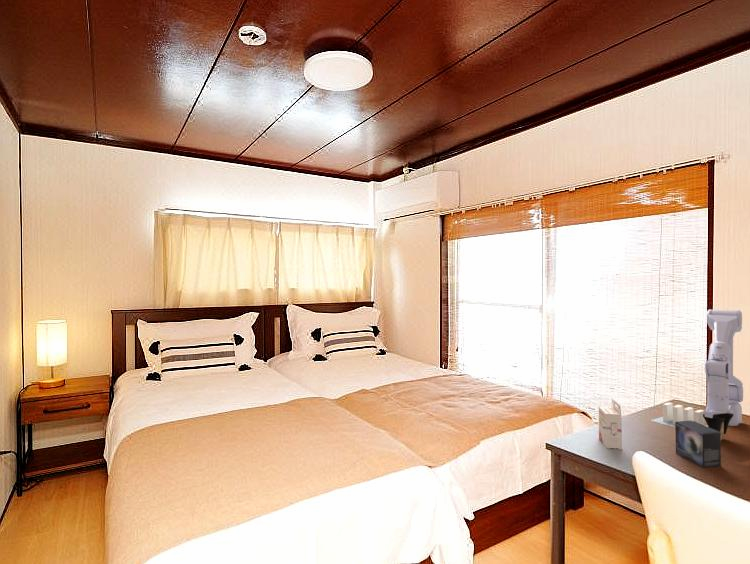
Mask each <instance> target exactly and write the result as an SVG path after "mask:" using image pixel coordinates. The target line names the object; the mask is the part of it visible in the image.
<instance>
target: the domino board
mask: <svg viewBox="0 0 750 564" xmlns="http://www.w3.org/2000/svg"><path fill="white" fill-rule="evenodd" d="M649 421H650V422H653V423H657V424H661V425H664V426H668V427H671V428H675V424H673V420H671V421H669V422H665V421H663V415H662V416H660V417H657V418H654V419H651V420H649ZM705 426H707V427H708V425H706V424H705Z"/></svg>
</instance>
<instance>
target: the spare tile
mask: <svg viewBox="0 0 750 564" xmlns="http://www.w3.org/2000/svg"><path fill="white" fill-rule="evenodd" d="M720 432H721V441H722V440H725V438H724V437H725V436H724V435H725V434H724V422H723V423H722V425H721V430H720Z"/></svg>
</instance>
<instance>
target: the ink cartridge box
mask: <svg viewBox="0 0 750 564" xmlns="http://www.w3.org/2000/svg"><path fill="white" fill-rule="evenodd" d="M611 403H612V406H600V405H599V406H598V439H599V441H600V440H601V441H600V442H601V443H602V445H603V446H604V445H605V446H606V447H605V446H604V447H605V449H610V448H619V449H618V450H622V449H623V440H622V439H623V438H622V437H623V436H622V435H623V434H622V433H623V432H622V431H623V430H622V429H623V428H622V427H623V426H622V422H623V421H622V410H621V404H619V403H618V401H616V400H615V399H614V398H611Z"/></svg>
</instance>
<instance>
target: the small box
mask: <svg viewBox="0 0 750 564" xmlns="http://www.w3.org/2000/svg"><path fill="white" fill-rule="evenodd" d="M707 426H708V425H707ZM707 426H704V425H702V424H700V423H697V422H695V421H678V422H675V427H674V428H675V432H674V433H675V454H677V455H679V456H680V457H682V458H685V459H686V460H688V461H690V462H691V463H693V464H696V465H698V466H700V467H701V468H717V467H718V468H719V467H722V454H721V452H722V450H721V447H722V445H721V444H722V440H721V432H719V431H717V430H714V429H712V428H709V427H707Z"/></svg>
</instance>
